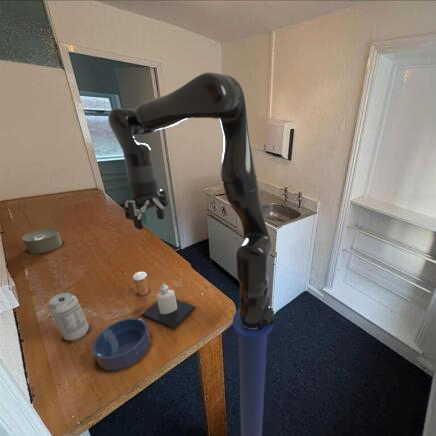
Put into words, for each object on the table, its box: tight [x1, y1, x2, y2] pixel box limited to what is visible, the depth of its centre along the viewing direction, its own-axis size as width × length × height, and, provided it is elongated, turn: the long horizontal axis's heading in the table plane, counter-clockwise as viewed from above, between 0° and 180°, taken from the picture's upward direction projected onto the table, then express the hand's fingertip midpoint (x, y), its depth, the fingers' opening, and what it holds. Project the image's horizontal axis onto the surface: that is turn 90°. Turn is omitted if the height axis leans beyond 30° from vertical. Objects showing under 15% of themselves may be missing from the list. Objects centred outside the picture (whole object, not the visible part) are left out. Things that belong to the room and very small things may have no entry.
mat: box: [142, 299, 196, 330], centre depth 84 cm, size 14×10×1 cm
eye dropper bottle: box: [156, 283, 177, 314], centre depth 81 cm, size 4×6×12 cm
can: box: [21, 228, 63, 254], centre depth 111 cm, size 12×12×7 cm
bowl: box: [91, 317, 151, 371], centre depth 69 cm, size 13×13×6 cm
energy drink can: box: [48, 292, 90, 341], centre depth 70 cm, size 6×6×15 cm
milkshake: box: [132, 271, 149, 296], centre depth 89 cm, size 4×5×10 cm
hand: (150, 223), depth 80 cm, fingers open, 8 cm apart
